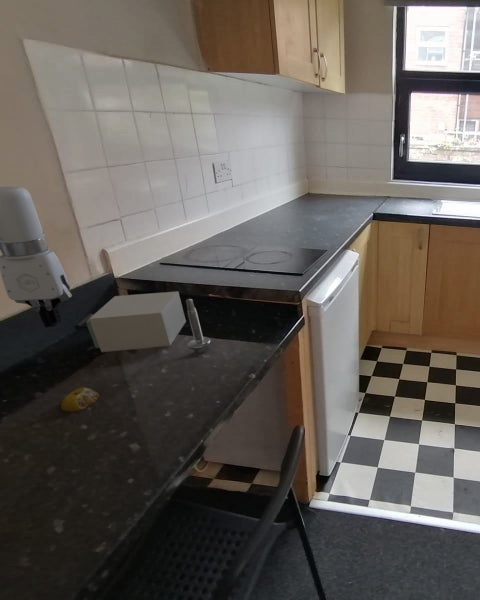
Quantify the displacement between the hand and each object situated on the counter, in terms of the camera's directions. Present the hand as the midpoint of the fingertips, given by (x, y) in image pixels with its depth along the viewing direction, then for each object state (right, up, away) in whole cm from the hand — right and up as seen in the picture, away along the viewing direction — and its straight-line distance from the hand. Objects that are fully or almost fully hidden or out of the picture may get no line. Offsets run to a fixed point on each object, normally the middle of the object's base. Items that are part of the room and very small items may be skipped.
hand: (53, 324), depth 93 cm
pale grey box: (+18, -3, +6) cm, 19 cm away
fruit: (+24, -15, -19) cm, 34 cm away
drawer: (+14, -3, +5) cm, 15 cm away
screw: (+35, -6, -1) cm, 35 cm away
